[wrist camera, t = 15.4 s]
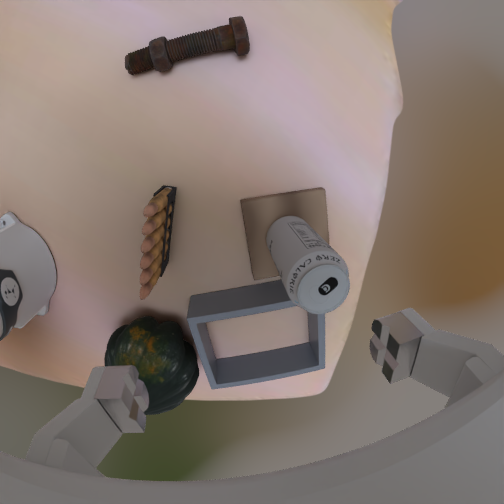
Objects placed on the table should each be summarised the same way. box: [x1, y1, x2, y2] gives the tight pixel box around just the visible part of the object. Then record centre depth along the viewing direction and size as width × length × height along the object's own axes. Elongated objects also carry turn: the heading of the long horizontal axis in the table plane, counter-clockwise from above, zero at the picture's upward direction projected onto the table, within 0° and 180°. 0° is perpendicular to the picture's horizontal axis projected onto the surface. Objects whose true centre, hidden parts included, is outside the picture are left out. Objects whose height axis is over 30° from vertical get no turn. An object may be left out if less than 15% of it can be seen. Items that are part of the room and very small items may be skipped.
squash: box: [105, 316, 199, 415], centre depth 38 cm, size 14×15×15 cm
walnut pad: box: [241, 188, 329, 280], centre depth 39 cm, size 11×11×2 cm
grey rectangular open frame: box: [187, 280, 325, 389], centre depth 41 cm, size 18×14×6 cm
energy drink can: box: [266, 216, 350, 314], centre depth 31 cm, size 6×6×15 cm
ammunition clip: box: [140, 185, 176, 300], centre depth 32 cm, size 11×2×12 cm, turn 169°
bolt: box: [125, 16, 250, 75], centre depth 27 cm, size 6×5×15 cm
